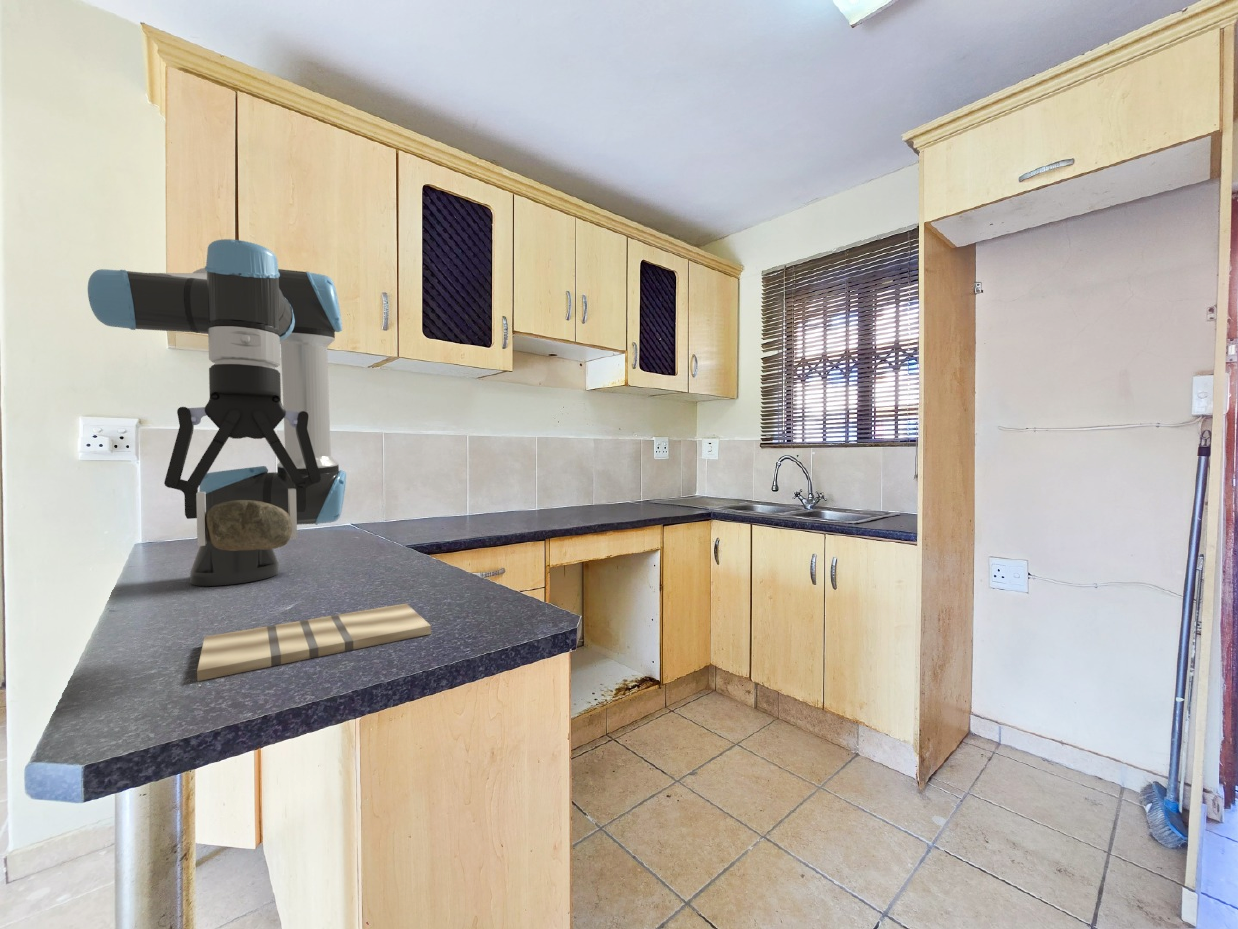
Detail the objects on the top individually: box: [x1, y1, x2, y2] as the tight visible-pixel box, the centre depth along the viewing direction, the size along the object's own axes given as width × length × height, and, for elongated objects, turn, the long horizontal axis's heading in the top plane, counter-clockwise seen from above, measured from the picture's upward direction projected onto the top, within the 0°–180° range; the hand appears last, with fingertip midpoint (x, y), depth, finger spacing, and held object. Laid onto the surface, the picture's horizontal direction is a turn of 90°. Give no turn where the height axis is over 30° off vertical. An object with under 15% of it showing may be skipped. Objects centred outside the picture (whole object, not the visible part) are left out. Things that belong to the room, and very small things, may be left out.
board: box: [196, 603, 432, 682], centre depth 73 cm, size 14×26×1 cm, turn 126°
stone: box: [206, 500, 292, 551], centre depth 69 cm, size 9×14×10 cm, turn 40°
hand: (249, 540), depth 68 cm, fingers closed on stone, 9 cm apart
